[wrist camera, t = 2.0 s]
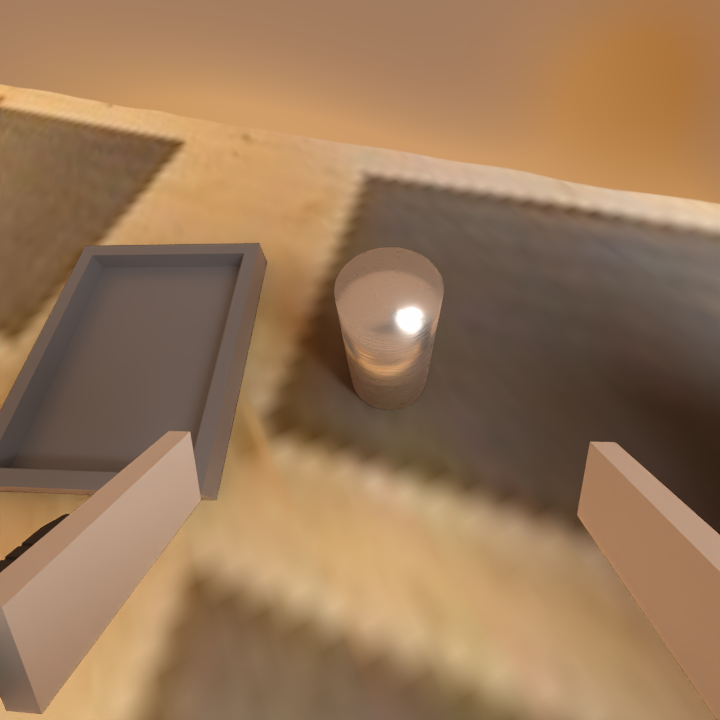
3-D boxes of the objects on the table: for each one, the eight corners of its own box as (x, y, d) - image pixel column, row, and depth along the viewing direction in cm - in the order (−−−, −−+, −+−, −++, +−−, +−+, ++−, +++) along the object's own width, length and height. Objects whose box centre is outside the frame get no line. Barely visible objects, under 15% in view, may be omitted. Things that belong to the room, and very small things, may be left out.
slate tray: (266, 262, 37) (259, 243, 35) (216, 500, 27) (201, 494, 25) (102, 263, 39) (85, 245, 36) (-5, 490, 28) (-39, 484, 26)
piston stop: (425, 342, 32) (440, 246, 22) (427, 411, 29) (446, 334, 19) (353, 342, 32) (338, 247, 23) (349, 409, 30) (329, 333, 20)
